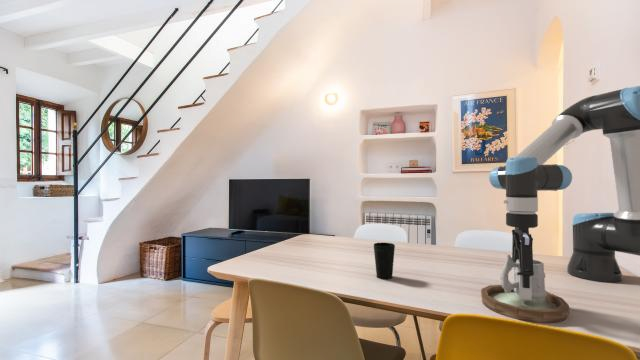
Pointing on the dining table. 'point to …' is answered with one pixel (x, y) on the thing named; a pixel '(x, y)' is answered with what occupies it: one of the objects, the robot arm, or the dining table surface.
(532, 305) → the tray
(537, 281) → the mug
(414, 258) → the dining table surface
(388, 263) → the cup
